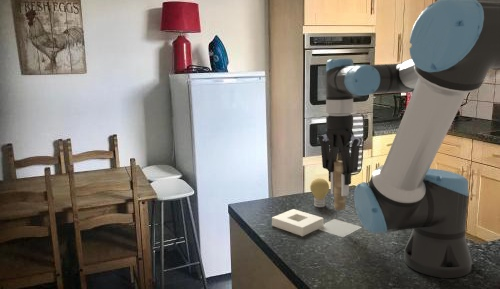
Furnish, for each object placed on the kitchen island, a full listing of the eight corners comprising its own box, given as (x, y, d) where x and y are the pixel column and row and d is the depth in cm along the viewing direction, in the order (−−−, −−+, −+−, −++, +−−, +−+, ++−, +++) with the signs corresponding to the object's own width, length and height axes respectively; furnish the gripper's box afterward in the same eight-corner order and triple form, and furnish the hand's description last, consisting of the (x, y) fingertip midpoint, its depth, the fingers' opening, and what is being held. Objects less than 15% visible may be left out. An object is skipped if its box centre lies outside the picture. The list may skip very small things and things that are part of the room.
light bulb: (329, 210, 142) (329, 181, 140) (310, 209, 143) (310, 181, 141) (328, 203, 148) (328, 176, 146) (310, 203, 149) (310, 176, 147)
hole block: (323, 227, 128) (323, 217, 127) (302, 237, 121) (302, 227, 120) (293, 217, 136) (293, 208, 136) (272, 226, 130) (271, 217, 129)
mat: (362, 228, 126) (362, 227, 126) (343, 238, 119) (343, 237, 119) (334, 220, 133) (334, 218, 133) (314, 229, 126) (314, 228, 126)
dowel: (347, 208, 124) (347, 161, 122) (341, 210, 122) (341, 163, 120) (338, 205, 127) (338, 160, 124) (332, 208, 124) (331, 162, 122)
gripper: (372, 114, 116) (371, 196, 120) (324, 111, 128) (324, 186, 132) (357, 116, 111) (356, 202, 115) (308, 114, 123) (309, 191, 127)
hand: (339, 193), depth 124 cm, fingers closed on dowel, 3 cm apart
